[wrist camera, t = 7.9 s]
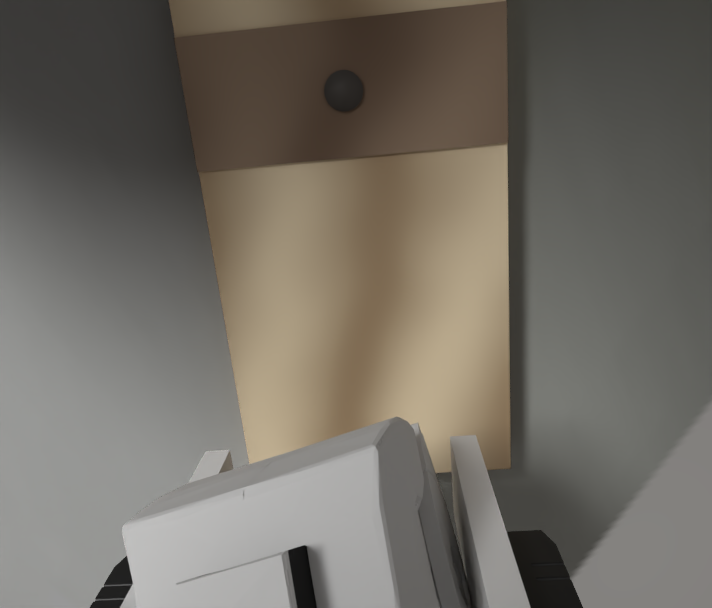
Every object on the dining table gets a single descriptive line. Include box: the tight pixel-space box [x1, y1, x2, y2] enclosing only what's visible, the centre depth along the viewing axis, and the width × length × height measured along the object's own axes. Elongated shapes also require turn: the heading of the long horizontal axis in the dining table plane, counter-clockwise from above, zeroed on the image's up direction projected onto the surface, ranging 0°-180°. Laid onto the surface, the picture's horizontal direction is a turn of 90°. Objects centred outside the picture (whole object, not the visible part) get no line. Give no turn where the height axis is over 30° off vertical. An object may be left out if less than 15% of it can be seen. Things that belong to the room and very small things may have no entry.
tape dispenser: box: [122, 417, 473, 608], centre depth 13 cm, size 6×7×10 cm
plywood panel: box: [169, 0, 511, 473], centre depth 19 cm, size 10×18×1 cm, turn 5°
